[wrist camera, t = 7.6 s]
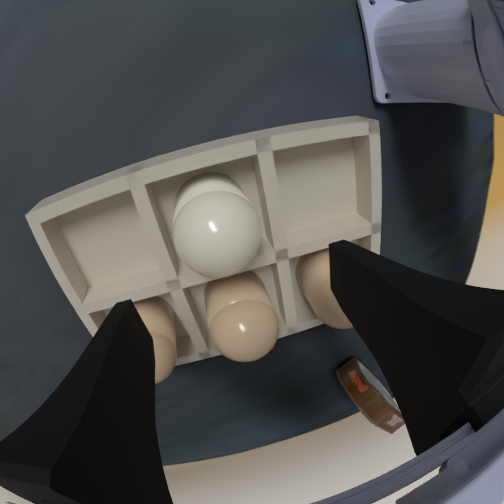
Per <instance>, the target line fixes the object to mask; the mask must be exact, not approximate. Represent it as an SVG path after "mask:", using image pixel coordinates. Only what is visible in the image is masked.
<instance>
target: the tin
mask: <svg viewBox="0 0 504 504" xmlns="http://www.w3.org/2000/svg"><path fill="white" fill-rule="evenodd" d="M336 375H337V377H338V379H339V381H340V383H341V385H342V386H343V388H344V390H345V391H346V392H347V394H348V395H349V397H350V398H351V400H352V401H353V402H354V404H355V405H356V406H357V408H358V409H359V410H360V411H361V412H362V414H363V415H365V417H366V418H367V419H368V420H369V421H370V422H371V423H373V424H374V425H376V426H377V427H380V428H381V429H383V430H385V431H387V432H389V433H391V434H393V433H394V431H396V430H397V429H398V428H400V427H401V426H402V425H404V423H405V422H404V419H403V417H402V414H401V412H400V409H399V408H398V407H397V405H396V404H395V403H394V401H393V399H392V397H391V395H390V394H389V392H388V391H387V390H386V388H385V387H384V386H383V385H382V384H381V382H380V381H379V380H378V379H377V378H376V377H375V376H374V375H373V374H372V372H371V371H370V370H369V369H368V368H367V367H366V366H365V365H364V364H363V363H362V362H361V361H360V360H358V359H357V358H355V357H354V358H352V359H350V360H349V361H348V362H346V363H345V364H344V365H342V366H341V367H340V368H337V369H336Z"/></svg>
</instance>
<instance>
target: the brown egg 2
mask: <svg viewBox="0 0 504 504" xmlns="http://www.w3.org/2000/svg"><path fill="white" fill-rule="evenodd" d="M295 278H296V281H297V283H298V285H299V286H300V288H301V290H302V291H303V293H304V295H305V297H306V298H307V300H308V302H309V303H310V305H311V307H312V309H313V310H314V312H315V314H316V315H317V317H318V318H319V319H320V320H321V321H322V322H323V323H325V324H326V325H328V326H330V327H332V328H336V329H350V328H353V326H352V324H351V323H350V321H349V320H348V318H347V317H346V316H345V314H344V313H343V311H342V310H341V308H340V306H339V304H338V302H337V300H336V298H335V297H334V295H333V293H332V291H331V289H330V266H329V247H328V248H325V249H322V250H318V251H315V252H311V253H308V254H304V255H302V256H301V257H300V259H299V260H298V262H297V265H296V268H295Z"/></svg>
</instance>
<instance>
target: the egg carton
mask: <svg viewBox="0 0 504 504" xmlns="http://www.w3.org/2000/svg"><path fill="white" fill-rule="evenodd" d="M207 172H216V173H221V174H224V175H227V176H229V177H231V178H232V179H234V180H235V181H236V182H237V183H238V184H239V185H240V187H241V188H242V190H243V192H244V193H245V195H246V196H247V198H248V200H249V201H250V203H251V204H252V206H253V208H254V209H255V211H256V213H257V215H258V217H259V220H260V223H261V231H262V235H261V243H260V247H259V250H258V252H257V254H256V256H255V257H254V259H253V260H252V261H251V263H250V264H249V265H248V266H247V267H246V268H244V269H243V270H241V271H240V272H238V273H241V272H245V271H248V270H252V271H254V272H255V273H256V274H258V275H259V276H260V278H261V279H262V281H263V284H264V286H265V288H266V291H267V293H268V295H269V297H270V300H271V302H272V304H273V307H274V309H275V311H276V314H277V316H278V320H279V335H278V338H281V337H285V336H288V335H291V334H294V333H297V332H300V331H303V330H306V329H309V328H312V327H315V326H318V325H321V324H324V323H323V322H322V321H321V320H320V319H319V318H318V317H317V315H316V314H315V312H314V310H313V309H312V307H311V305H310V303H309V302H308V300H307V298H306V297H305V295H304V293H303V291H302V290H301V288H300V286H299V285H298V283H297V281H296V278H295V268H296V265H297V262H298V260H299V259H300V257H301V256H302V255H304V254H308V253H311V252H315V251H318V250H322V249H325V248H328V247H329V245H328V244H330V243H333V242H336V241H340V240H343V239H344V240H347V241H349V242H352V243H354V244H356V245H359V246H361V247H363V248H365V249H368V250H370V251H372V252H374V253H376V254H379V255H380V237H381V205H382V179H381V147H380V129H379V121H378V120H374V119H369V118H365V117H360V116H349V117H340V118H332V119H325V120H317V121H311V122H304V123H298V124H292V125H286V126H280V127H275V128H269V129H264V130H259V131H254V132H249V133H245V134H240V135H236V136H231V137H227V138H223V139H218V140H214V141H210V142H206V143H203V144H199V145H195V146H191V147H188V148H184V149H180V150H177V151H173V152H170V153H167V154H163V155H160V156H157V157H153V158H150V159H147V160H144V161H141V162H138V163H135V164H132V165H129V166H126V167H123V168H120V169H117V170H115V171H112V172H109V173H106V174H104V175H101V176H98V177H96V178H93V179H90V180H88V181H85V182H83V183H80V184H78V185H75V186H73V187H71V188H68V189H66V190H63V191H61V192H59V193H56V194H54V195H52V196H50V197H47V198H45V199H43V200H41V201H40V202H39V203H38V204H37V205H36V206H35V207H34V208H33V209H32V210H30V211H29V212H28V213H27V214H26V215H25V217H26V219H27V221H28V223H29V226H30V228H31V230H32V232H33V234H34V236H35V239H36V241H37V243H38V245H39V247H40V249H41V251H42V253H43V255H44V257H45V259H46V261H47V262H48V264H49V266H50V268H51V270H52V272H53V274H54V275H55V277H56V279H57V281H58V282H59V284H60V286H61V288H62V289H63V291H64V293H65V294H66V296H67V298H68V299H69V301H70V303H71V304H72V306H73V307H74V309H75V311H76V312H77V314H78V315H79V317H80V318H81V320H82V321H83V323H84V324H85V326H86V327H87V329H88V330H89V332H90V333H91V335H92V336H93V337H94V335H95V334H96V332H97V330H98V329H99V327H100V326H101V324H102V323H103V321H104V320H105V318H106V316H107V315H108V313H109V312H110V311H111V309H112V308H113V306H114V305H115V304H116V303H117V302H121V301H125V300H129V299H131V300H132V302H134V301H138V300H142V299H146V298H150V297H153V296H159V297H161V298H163V299H165V300H166V301H167V302H168V303H169V304H170V305H171V306H172V308H173V310H174V312H175V325H176V348H177V359H176V364H175V366H177V365H181V364H185V363H190V362H194V361H198V360H202V359H206V358H210V357H214V356H218V355H222V354H221V353H220V352H219V351H218V350H217V349H216V347H215V346H214V344H213V343H212V340H211V338H210V334H209V328H208V321H207V315H206V308H205V302H204V289H205V286H206V284H207V283H208V282H209V281H212V280H216V279H220V278H211V277H206V276H202V275H200V274H198V273H196V272H194V271H192V270H191V269H189V268H188V267H187V266H186V265H185V264H184V263H183V261H182V260H181V259H180V257H179V256H178V254H177V251H176V249H175V246H174V242H173V213H174V201H175V198H176V195H177V193H178V191H179V189H180V188H181V186H182V185H183V184H184V183H185V182H186V181H188V180H189V179H190V178H192V177H194V176H196V175H198V174H201V173H207ZM238 273H236V274H238Z"/></svg>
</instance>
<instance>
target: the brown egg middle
mask: <svg viewBox="0 0 504 504" xmlns="http://www.w3.org/2000/svg"><path fill="white" fill-rule="evenodd" d="M204 302H205V308H206V315H207V321H208V328H209V334H210V338H211V340H212V343H213V344H214V346H215V347H216V349H217V350H218V351H219V352H220V353H221V354H222V355H224V356H225V357H227V358H229V359H231V360H234V361H238V362H251V361H255V360H258V359H260V358H262V357H263V356H265V355H266V354H268V353H269V352H270V351H271V349H272V348H273V347H274V345H275V343H276V341H277V339H278V335H279V320H278V316H277V314H276V311H275V309H274V307H273V304H272V302H271V300H270V297H269V295H268V293H267V291H266V288H265V286H264V284H263V281H262V279H261V278H260V276H259V275H258V274H256V273H255V272H254V271H252V270H248V271H245V272H241V273H238V274H234V275H231V276H228V277H223V278H220V279H216V280H212V281H209V282H208V283H207V284H206V286H205V289H204Z"/></svg>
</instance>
